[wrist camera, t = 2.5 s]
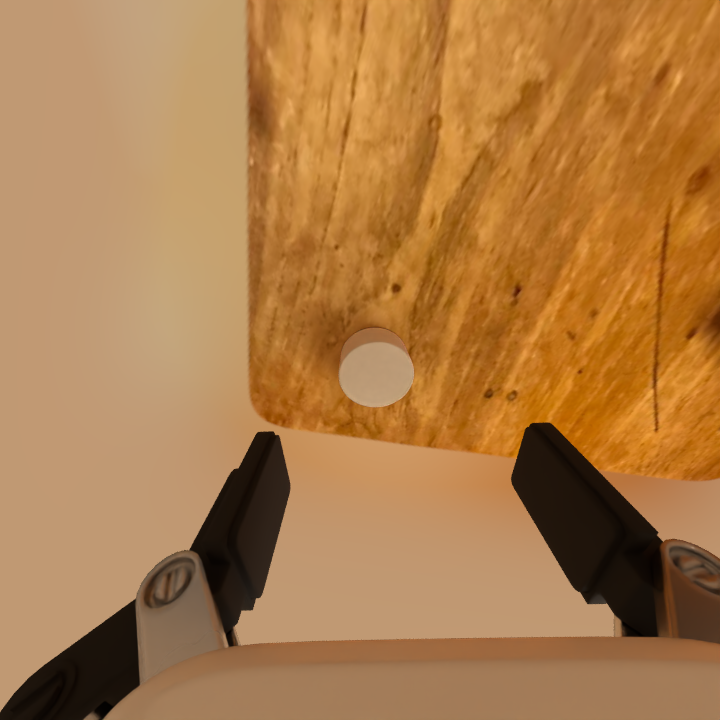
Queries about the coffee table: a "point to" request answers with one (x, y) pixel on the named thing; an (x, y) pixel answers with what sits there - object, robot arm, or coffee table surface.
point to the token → (375, 368)
